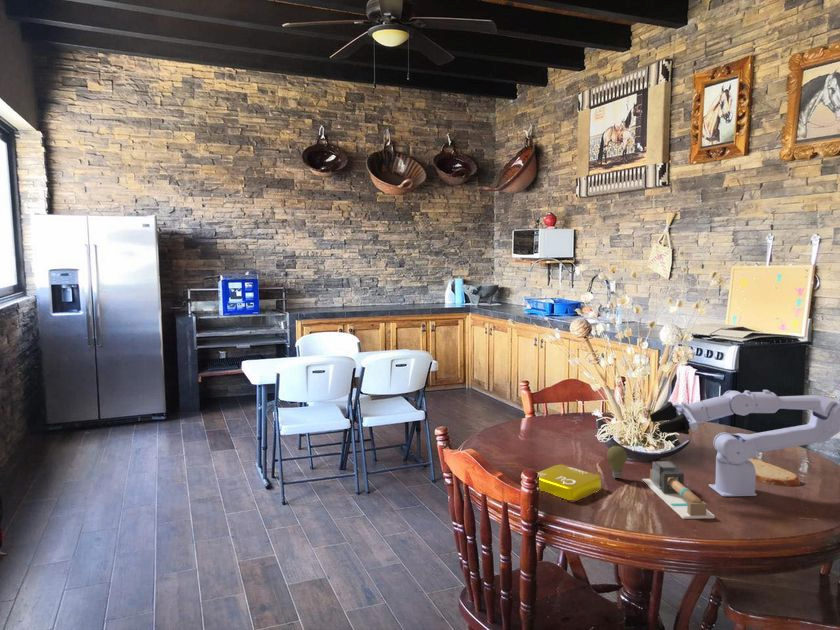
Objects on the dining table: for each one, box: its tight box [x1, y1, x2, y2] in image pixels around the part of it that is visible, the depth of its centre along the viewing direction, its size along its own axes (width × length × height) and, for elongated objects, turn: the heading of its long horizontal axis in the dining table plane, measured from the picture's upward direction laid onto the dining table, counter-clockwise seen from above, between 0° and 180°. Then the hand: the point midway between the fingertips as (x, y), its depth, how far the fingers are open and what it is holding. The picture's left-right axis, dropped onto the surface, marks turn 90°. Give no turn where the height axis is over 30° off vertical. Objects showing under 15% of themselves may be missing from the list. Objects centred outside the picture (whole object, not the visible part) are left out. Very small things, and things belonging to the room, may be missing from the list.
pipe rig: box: [642, 468, 716, 520], centre depth 160 cm, size 26×8×5 cm, turn 1°
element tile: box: [536, 463, 602, 500], centre depth 168 cm, size 15×15×5 cm
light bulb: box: [606, 445, 628, 479], centre depth 175 cm, size 6×6×10 cm
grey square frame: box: [662, 471, 685, 493], centre depth 162 cm, size 1×5×5 cm, turn 91°
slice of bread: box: [748, 458, 801, 487], centre depth 178 cm, size 18×18×4 cm
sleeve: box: [651, 460, 679, 488], centre depth 167 cm, size 5×5×6 cm
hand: (654, 423), depth 165 cm, fingers open, 7 cm apart
